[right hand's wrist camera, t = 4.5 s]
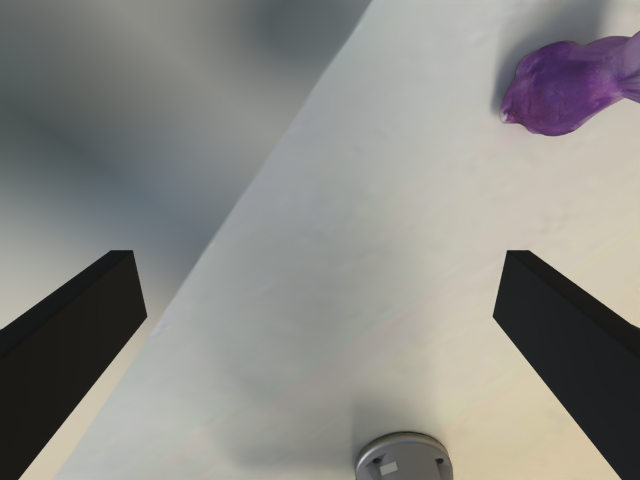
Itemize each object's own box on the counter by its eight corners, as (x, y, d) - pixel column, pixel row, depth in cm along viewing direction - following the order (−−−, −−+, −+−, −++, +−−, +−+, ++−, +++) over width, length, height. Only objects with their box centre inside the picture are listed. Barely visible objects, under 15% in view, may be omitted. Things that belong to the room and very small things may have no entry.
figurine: (619, 37, 34) (827, -6, 20) (567, 143, 38) (713, 168, 24) (529, 11, 33) (681, -52, 19) (486, 122, 37) (587, 135, 23)
